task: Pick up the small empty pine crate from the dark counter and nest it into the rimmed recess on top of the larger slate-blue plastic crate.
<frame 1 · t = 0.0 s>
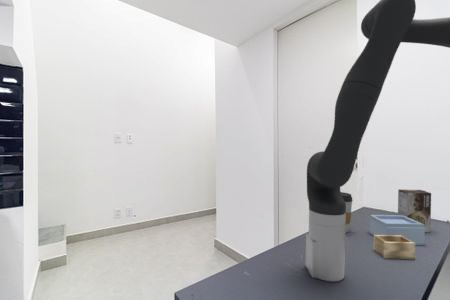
coffee box: (413, 229, 98), on the table
coffee cup: (340, 230, 96), on the table
base crate: (394, 238, 88), on the table
small crate: (393, 254, 76), on the table
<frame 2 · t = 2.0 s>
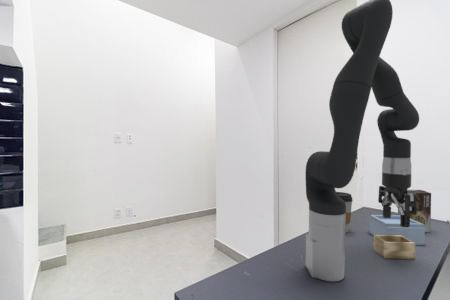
hand: (395, 222, 75), 10 cm above the table, tool pointing down, fingers open, 8 cm apart
nothing on the table moved.
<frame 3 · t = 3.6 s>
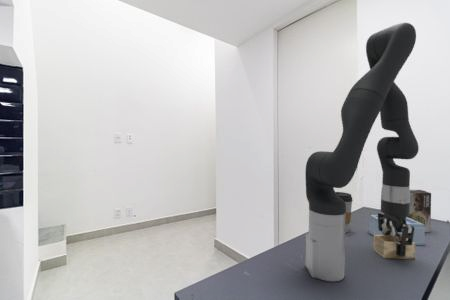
hand: (393, 250, 76), 1 cm above the table, tool pointing down, fingers closed on small crate, 6 cm apart
small crate: (393, 254, 76), on the table, touching gripper
everything else where it was.
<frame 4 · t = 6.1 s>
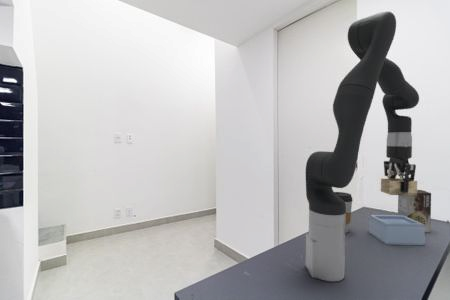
hand: (397, 190, 87), 18 cm above the table, tool pointing down, fingers closed on small crate, 6 cm apart
small crate: (398, 193, 87), point 17 cm above the table, touching gripper
everything else where it was.
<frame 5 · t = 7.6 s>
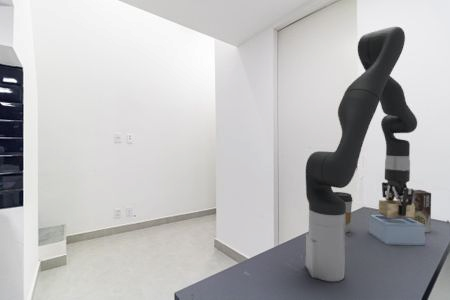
hand: (395, 212, 88), 10 cm above the table, tool pointing down, fingers closed on small crate, 6 cm apart
small crate: (395, 215, 88), point 9 cm above the table, touching gripper
everything else where it was.
when the fingers open (8 cm above the table, at t = 8.9 s): small crate stays where it is, resting on base crate.
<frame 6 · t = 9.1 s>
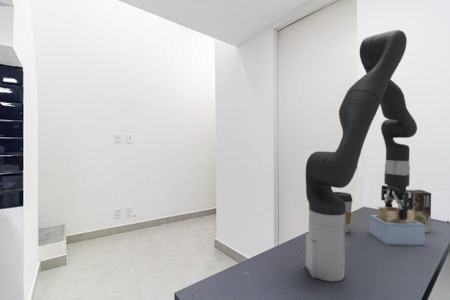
hand: (395, 216, 88), 8 cm above the table, tool pointing down, fingers open, 7 cm apart
small crate: (395, 222, 88), point 6 cm above the table, touching base crate
everything else where it was.
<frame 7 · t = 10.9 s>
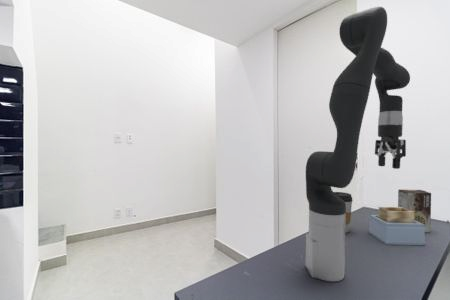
hand: (388, 167, 89), 27 cm above the table, tool pointing down, fingers open, 8 cm apart
nothing on the table moved.
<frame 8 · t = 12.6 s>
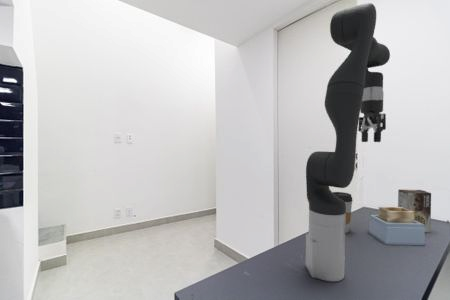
hand: (370, 142, 92), 36 cm above the table, tool pointing down, fingers open, 8 cm apart
nothing on the table moved.
at the end: small crate 0.0 cm off-centre on the base crate, point 6.0 cm above the base crate's base; small crate tilted 0°; the gripper is holding nothing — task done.
